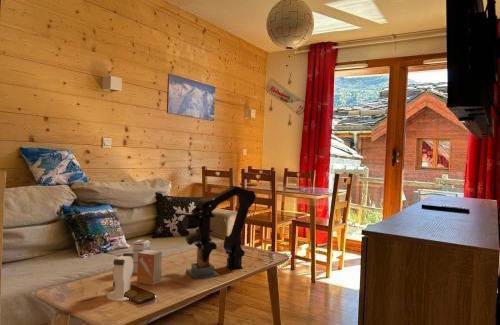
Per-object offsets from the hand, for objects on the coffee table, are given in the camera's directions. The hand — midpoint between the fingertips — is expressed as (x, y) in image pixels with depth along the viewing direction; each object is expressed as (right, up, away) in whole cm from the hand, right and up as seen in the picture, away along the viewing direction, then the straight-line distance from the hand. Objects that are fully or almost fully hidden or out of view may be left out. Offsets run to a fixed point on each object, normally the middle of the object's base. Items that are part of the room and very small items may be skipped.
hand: (203, 260), depth 170 cm
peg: (0, -3, 0) cm, 2 cm away
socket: (0, -6, 0) cm, 6 cm away
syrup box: (-29, -5, -1) cm, 29 cm away
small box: (-21, -6, -14) cm, 26 cm away
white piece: (-27, -6, -29) cm, 40 cm away
